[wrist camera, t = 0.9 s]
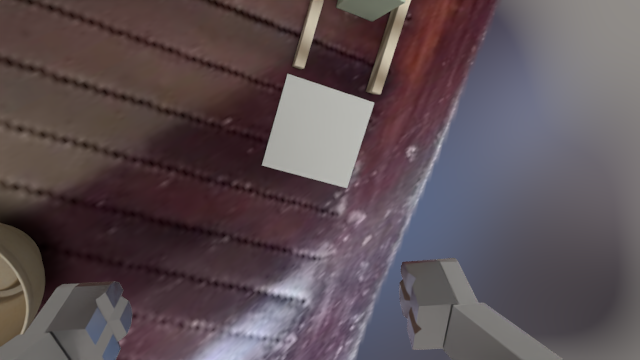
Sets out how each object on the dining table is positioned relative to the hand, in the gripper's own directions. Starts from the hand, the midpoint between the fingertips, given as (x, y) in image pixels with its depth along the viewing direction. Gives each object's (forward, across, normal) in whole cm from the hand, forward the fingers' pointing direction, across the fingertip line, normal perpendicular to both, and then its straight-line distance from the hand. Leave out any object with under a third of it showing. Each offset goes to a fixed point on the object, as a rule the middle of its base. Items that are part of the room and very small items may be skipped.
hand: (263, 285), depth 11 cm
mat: (+37, -2, +13) cm, 40 cm away
